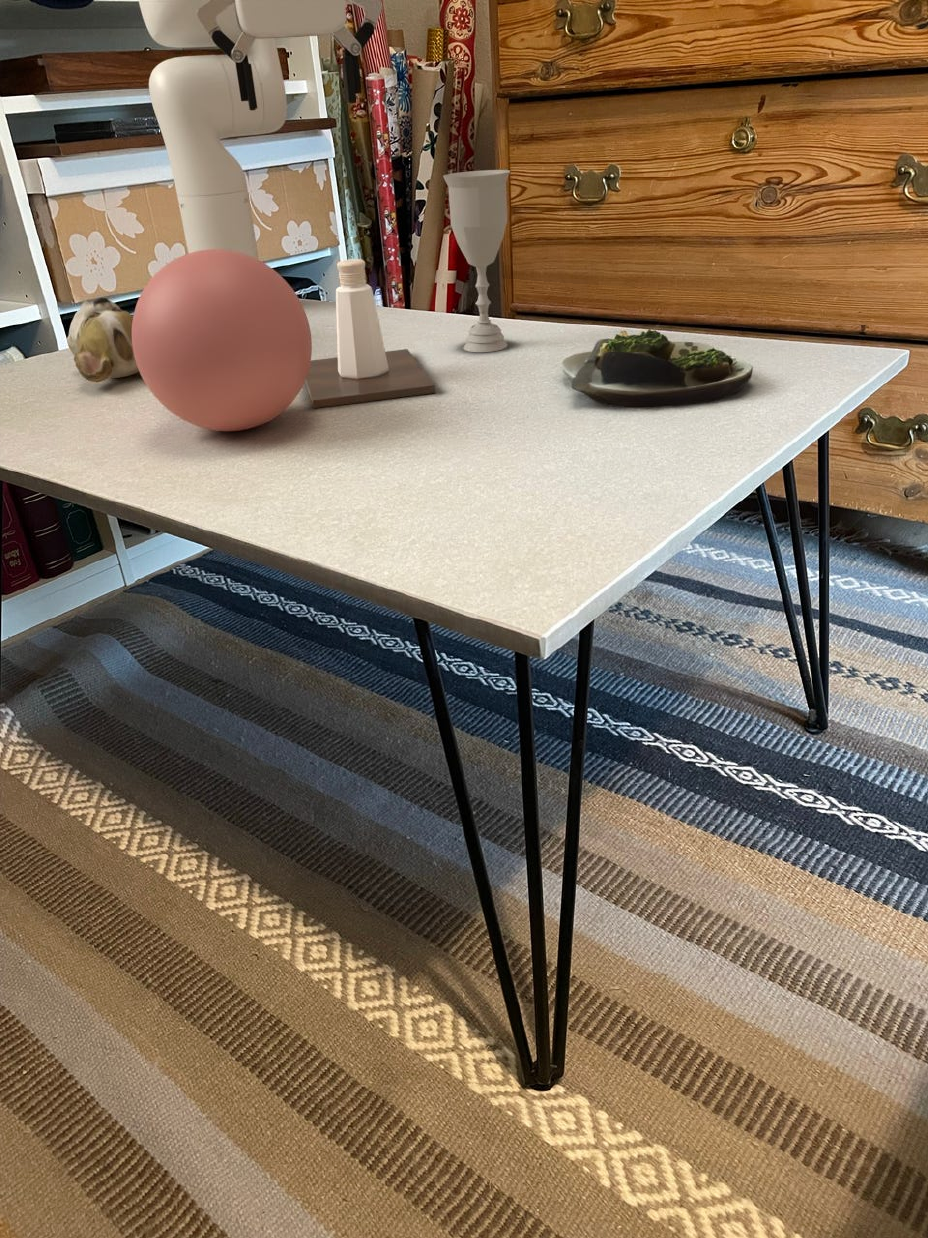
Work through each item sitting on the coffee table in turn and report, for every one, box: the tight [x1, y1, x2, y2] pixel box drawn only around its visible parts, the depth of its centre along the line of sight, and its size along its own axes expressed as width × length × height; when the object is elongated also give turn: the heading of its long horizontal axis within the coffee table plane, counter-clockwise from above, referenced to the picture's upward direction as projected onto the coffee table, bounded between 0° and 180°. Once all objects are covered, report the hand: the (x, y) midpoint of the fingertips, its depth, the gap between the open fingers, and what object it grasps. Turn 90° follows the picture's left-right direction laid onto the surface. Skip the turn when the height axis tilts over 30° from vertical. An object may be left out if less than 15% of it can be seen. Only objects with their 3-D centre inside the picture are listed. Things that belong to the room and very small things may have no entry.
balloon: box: [132, 249, 313, 432], centre depth 86 cm, size 15×20×15 cm
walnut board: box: [305, 348, 436, 409], centre depth 99 cm, size 16×12×1 cm
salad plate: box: [560, 328, 753, 409], centre depth 92 cm, size 19×18×5 cm
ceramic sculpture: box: [66, 297, 140, 383], centre depth 106 cm, size 11×9×15 cm
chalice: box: [442, 169, 511, 353], centre depth 104 cm, size 7×7×18 cm
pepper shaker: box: [335, 258, 389, 379], centre depth 96 cm, size 5×5×11 cm
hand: (302, 106), depth 93 cm, fingers open, 9 cm apart
